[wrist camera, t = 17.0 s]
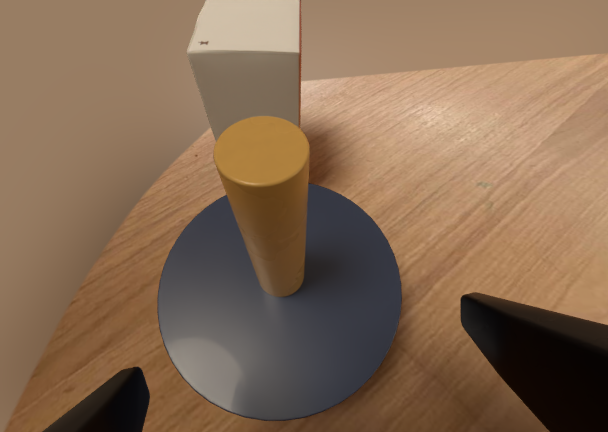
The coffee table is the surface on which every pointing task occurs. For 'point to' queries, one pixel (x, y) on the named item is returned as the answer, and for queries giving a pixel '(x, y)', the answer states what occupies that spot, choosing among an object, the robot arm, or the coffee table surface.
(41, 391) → the coffee table surface
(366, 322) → the peg on round base
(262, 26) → the small box
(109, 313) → the coffee table surface
